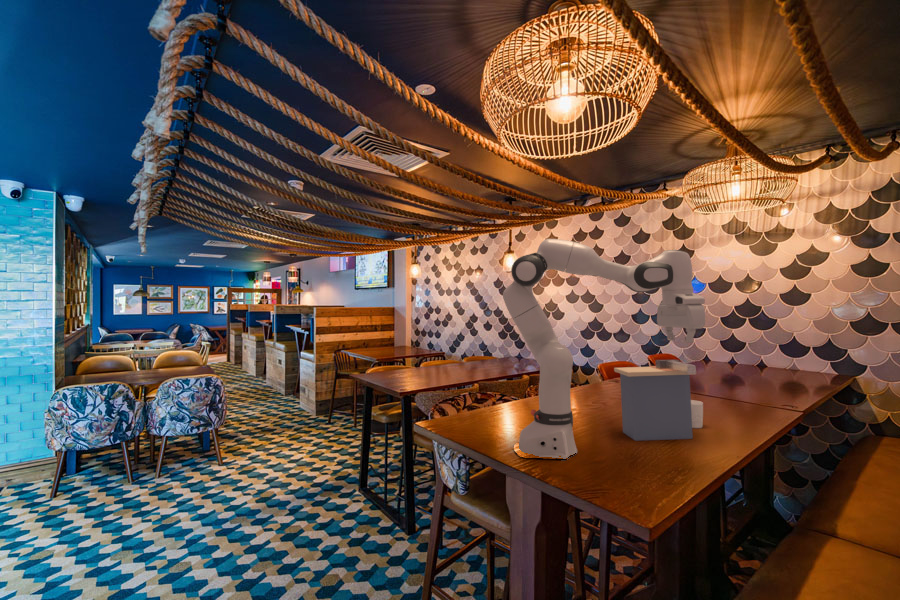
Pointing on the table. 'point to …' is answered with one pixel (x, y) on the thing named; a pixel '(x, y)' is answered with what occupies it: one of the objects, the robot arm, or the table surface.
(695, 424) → the white cup
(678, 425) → the wood-topped grey cube
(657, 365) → the steel T-bar
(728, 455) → the table surface
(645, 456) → the table surface
